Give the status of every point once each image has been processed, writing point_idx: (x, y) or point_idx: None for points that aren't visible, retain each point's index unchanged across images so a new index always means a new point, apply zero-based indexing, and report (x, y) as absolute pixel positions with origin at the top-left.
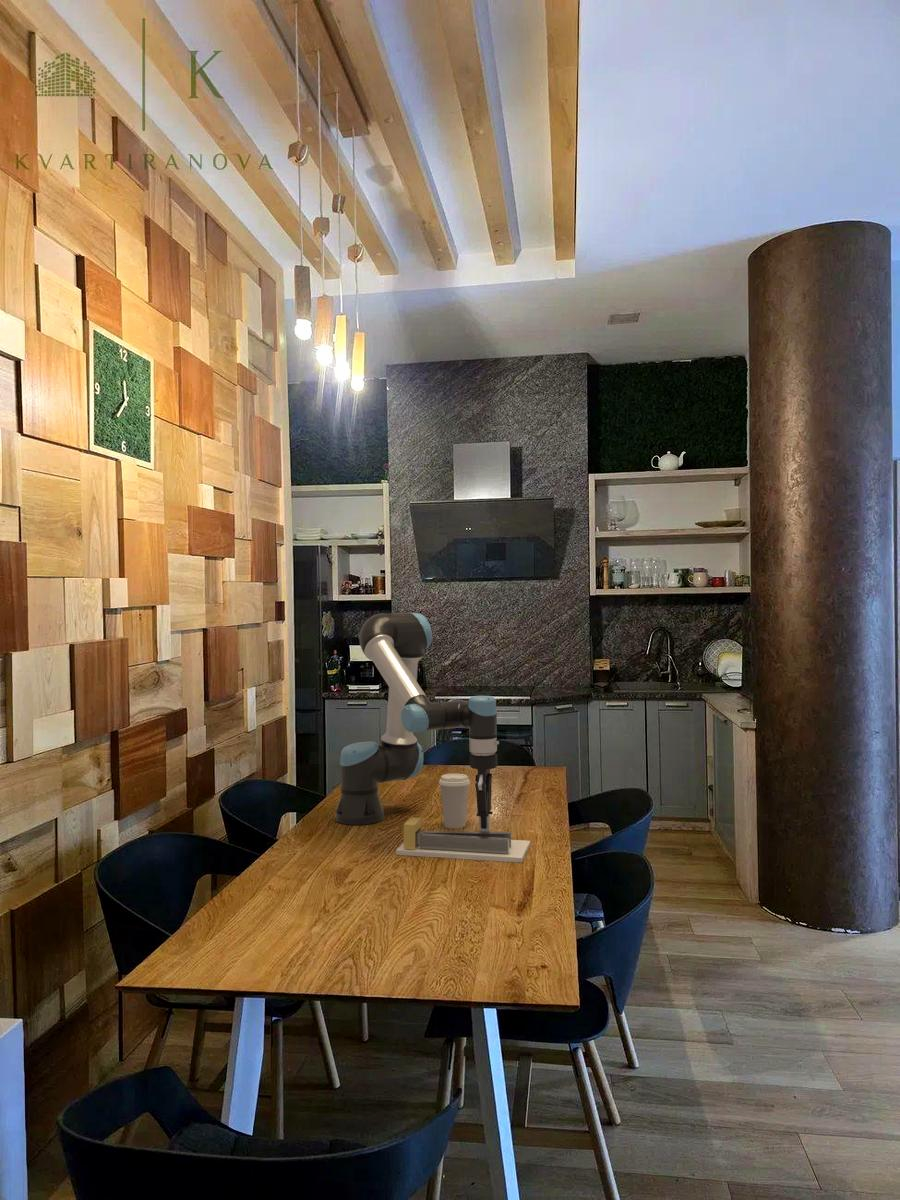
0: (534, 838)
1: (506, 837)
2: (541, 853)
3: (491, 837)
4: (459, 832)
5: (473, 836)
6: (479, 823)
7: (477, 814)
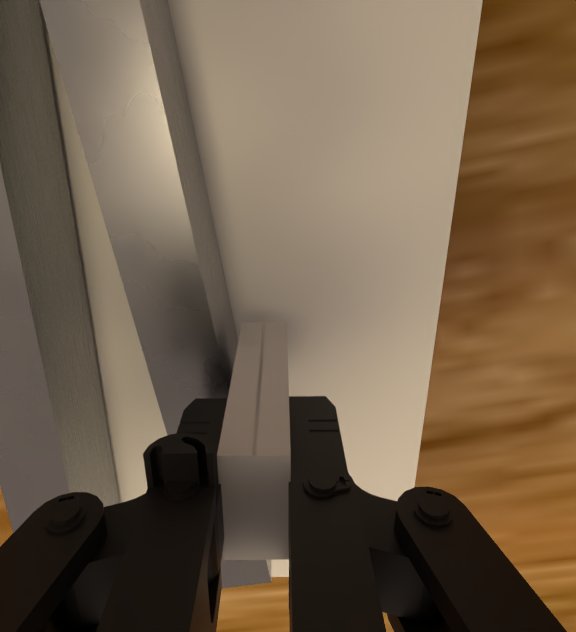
0: (539, 553)
1: None
2: (250, 611)
3: (55, 485)
4: (117, 160)
5: (21, 339)
6: (228, 399)
7: (150, 468)
